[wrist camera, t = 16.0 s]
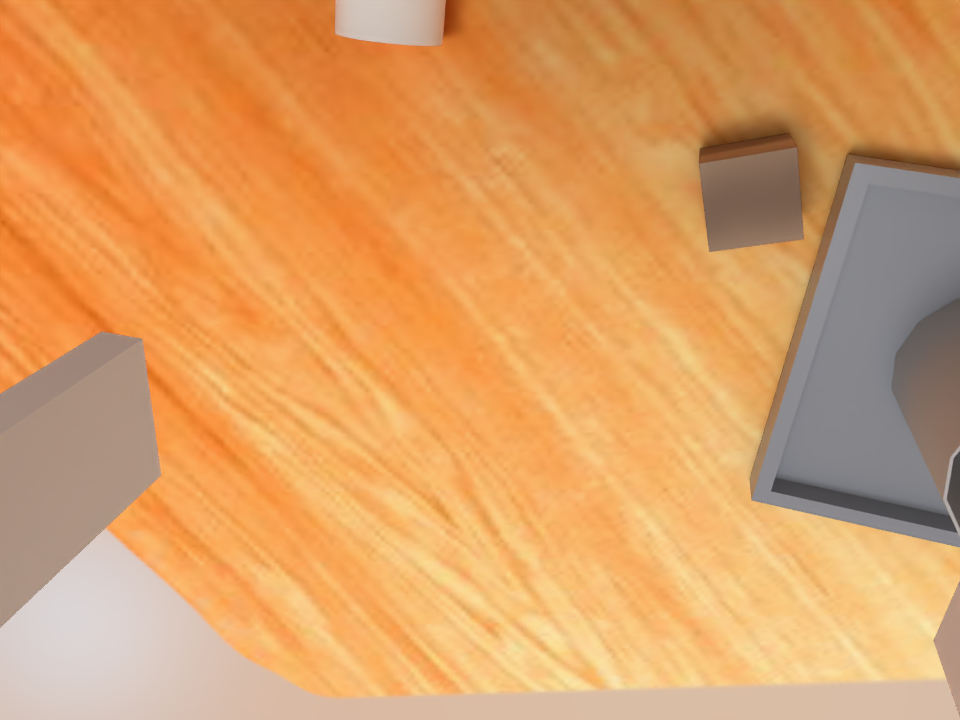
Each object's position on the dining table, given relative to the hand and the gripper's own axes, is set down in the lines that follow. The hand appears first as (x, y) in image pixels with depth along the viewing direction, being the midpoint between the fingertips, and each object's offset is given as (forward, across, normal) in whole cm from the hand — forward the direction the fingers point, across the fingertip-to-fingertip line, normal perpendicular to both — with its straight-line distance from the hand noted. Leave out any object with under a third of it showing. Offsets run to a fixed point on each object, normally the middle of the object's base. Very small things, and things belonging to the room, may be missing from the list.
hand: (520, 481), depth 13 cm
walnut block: (+30, +5, -2) cm, 31 cm away
